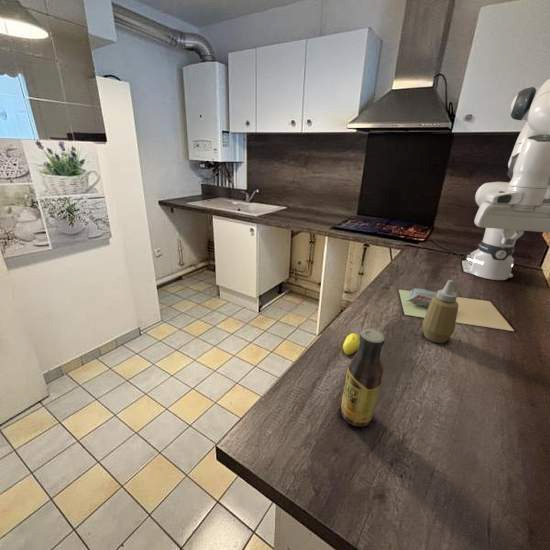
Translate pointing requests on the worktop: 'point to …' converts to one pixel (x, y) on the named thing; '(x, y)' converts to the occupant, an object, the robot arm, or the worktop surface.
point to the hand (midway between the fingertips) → (507, 243)
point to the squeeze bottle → (441, 315)
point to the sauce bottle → (363, 380)
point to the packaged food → (421, 296)
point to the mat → (463, 312)
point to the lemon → (351, 343)
